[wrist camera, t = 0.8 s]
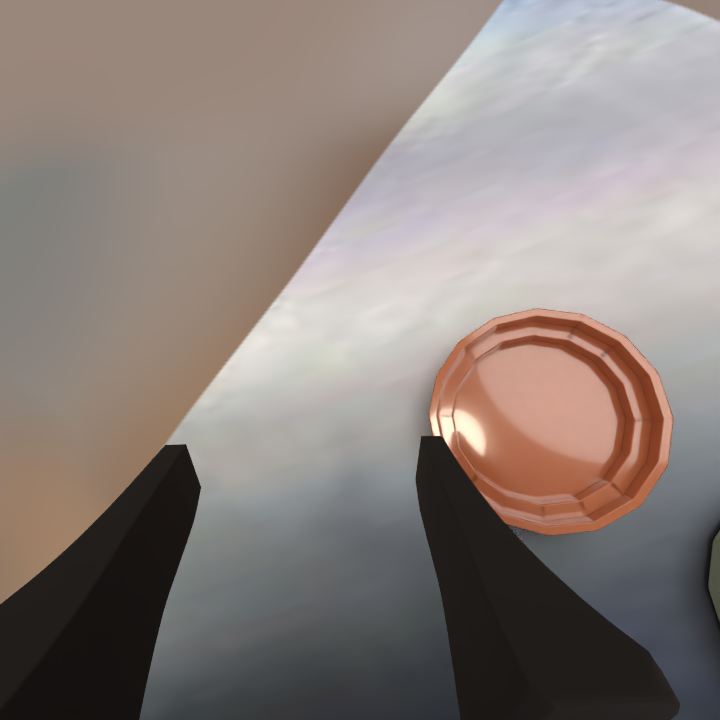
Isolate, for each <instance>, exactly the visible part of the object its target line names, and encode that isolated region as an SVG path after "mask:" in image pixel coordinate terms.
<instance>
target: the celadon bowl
mask: <svg viewBox="0 0 720 720" xmlns="http://www.w3.org/2000/svg"><path fill="white" fill-rule="evenodd" d="M708 587H709V591H710V594H711V597H712V600H713V603H714V606H715V610H716V613H717V616H718V619H719V622H720V531H719V532H718V534H717V535H716V537H715V538H714V540H713V546H712V555H711V564H710V573H709V582H708Z"/></svg>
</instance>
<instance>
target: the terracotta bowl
mask: <svg viewBox="0 0 720 720" xmlns="http://www.w3.org/2000/svg"><path fill="white" fill-rule="evenodd" d="M429 419H430V423H431V428H432V433H433V436H441V437H443V438H444V440H445V442H446V443H447V445H448V446H449V448H450V450H451V451H452V453H453V454H454V456H455V457H456V459H457V461H458V462H459V463H460V465H461V466H462V468H463V469H464V471H465V472H466V474H467V475H468V476H469V478H470V479H471V481H472V482H473V483H474V485H475V486H476V487H477V489H478V490H479V491H480V493H481V494H482V495H483V497H484V498H485V499H486V500H487V502H488V503H489V504H490V506H491V507H492V508H493V509H494V510H495V512H496V513H497V514H498V515H499V516H500V518H501V519H502V520H503V521H504V522H505V523H506V524H508V525H512V526H515V527H519V528H523V529H526V530H530V531H533V532H537V533H541V534H544V535H559V534H568V533H577V532H587V531H596V530H600V529H601V528H603V527H605V526H606V525H608V524H610V523H612V522H613V521H615V520H617V519H619V518H620V517H622V516H624V515H626V514H627V513H629V512H631V511H633V510H634V509H636V508H638V507H639V506H640V505H642V503H643V502H644V500H645V499H646V497H647V496H648V494H649V493H650V491H651V490H652V488H653V487H654V486H655V484H656V483H657V481H658V480H659V478H660V477H661V475H662V474H663V472H664V471H665V469H666V468H667V465H668V460H669V452H670V444H671V436H672V428H673V415H672V412H671V409H670V406H669V403H668V400H667V397H666V394H665V391H664V388H663V385H662V382H661V379H660V376H659V374H658V372H657V371H656V370H655V369H654V367H653V366H652V365H651V364H650V363H649V362H648V361H647V360H646V358H645V357H644V356H643V355H642V354H641V353H640V352H639V351H638V349H637V348H636V347H635V346H634V345H633V344H632V343H631V342H630V340H629V339H628V338H627V337H625V336H624V335H622V334H620V333H618V332H616V331H615V330H613V329H611V328H609V327H607V326H605V325H603V324H601V323H599V322H597V321H595V320H593V319H591V318H589V317H587V316H585V315H583V314H578V313H570V312H562V311H554V310H546V309H532V310H527V311H523V312H519V313H514V314H510V315H505V316H501V317H497V318H494V319H492V320H490V321H489V322H487V323H486V324H484V325H483V326H481V327H480V328H478V329H477V330H475V331H474V332H472V333H471V334H470V335H468V336H467V337H465V338H464V339H462V340H461V341H460V342H458V344H457V345H456V347H455V348H454V350H453V351H452V353H451V354H450V356H449V357H448V359H447V360H446V362H445V363H444V365H443V366H442V368H441V369H440V371H439V372H438V374H437V376H436V380H435V386H434V391H433V396H432V401H431V406H430V411H429Z"/></svg>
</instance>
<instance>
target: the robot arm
mask: <svg viewBox="0 0 720 720" xmlns="http://www.w3.org/2000/svg"><path fill="white" fill-rule="evenodd" d="M416 486H417V493H418V500H419V507H420V512H421V516H422V520H423V524H424V528H425V532H426V536H427V540H428V544H429V547H430V551H431V555H432V559H433V563H434V567H435V571H436V574H437V578H438V582H439V587H440V591H441V596H442V601H443V607H444V613H445V619H446V625H447V631H448V637H449V644H450V650H451V657H452V663H453V670H454V677H455V684H456V691H457V698H458V705H459V712H460V719H461V720H670V719H672V718H673V717H674V716H675V715H677V714H678V711H679V707H680V703H679V701H678V699H677V697H676V696H675V694H674V692H673V690H672V688H671V686H670V685H669V683H668V681H667V679H666V678H665V676H664V674H663V673H662V671H661V669H660V668H659V667H658V665H657V664H656V662H655V661H654V659H653V658H652V656H651V654H650V653H649V651H647V650H646V649H645V648H643V647H642V646H641V645H639V644H638V643H637V642H635V641H634V640H633V639H632V638H630V637H629V636H628V635H626V634H625V633H624V632H622V631H621V630H620V629H618V628H617V627H616V626H615V625H613V624H612V623H611V622H609V621H608V620H607V619H606V618H604V617H603V616H602V615H601V614H600V613H598V612H597V611H596V610H595V609H594V608H592V607H591V606H590V605H589V604H588V603H586V602H585V601H584V600H583V599H582V598H581V597H579V596H578V595H577V594H576V593H575V592H574V591H573V590H572V589H571V588H569V587H568V586H567V585H566V584H565V583H564V582H563V581H562V580H561V579H560V578H558V577H557V576H556V575H555V574H554V573H553V572H552V571H551V570H550V569H549V568H548V567H546V566H545V565H544V564H543V563H542V562H541V561H540V560H539V559H538V558H537V557H536V556H535V555H534V554H533V553H532V552H531V551H530V550H529V549H528V548H527V546H526V545H525V544H524V543H523V542H522V541H521V540H520V539H519V538H518V537H517V536H516V535H515V534H514V533H513V531H512V530H511V529H510V528H509V527H508V526H507V525H506V523H505V522H504V521H503V520H502V519H501V518H500V516H499V515H498V514H497V513H496V512H495V510H494V509H493V508H492V507H491V506H490V504H489V503H488V502H487V500H486V499H485V498H484V497H483V495H482V494H481V493H480V491H479V490H478V489H477V487H476V486H475V485H474V483H473V482H472V481H471V479H470V478H469V476H468V475H467V474H466V472H465V471H464V469H463V468H462V466H461V465H460V463H459V462H458V461H457V459H456V457H455V456H454V454H453V453H452V451H451V450H450V448H449V446H448V445H447V443H446V442H445V440H444V438H443V437H441V436H421V443H420V450H419V457H418V465H417V472H416ZM200 490H201V486H200V483H199V480H198V477H197V475H196V472H195V469H194V466H193V463H192V460H191V457H190V455H189V452H188V449H187V446H186V444H184V445H165V446H164V447H163V448H162V449H161V450H160V452H159V453H158V454H157V455H156V456H155V457H154V458H153V459H152V460H151V462H150V463H149V464H148V465H147V466H146V467H145V468H144V470H143V471H142V472H141V473H140V474H139V475H138V476H137V477H136V478H135V480H134V481H133V482H132V483H131V484H130V485H129V486H128V487H127V488H126V490H125V491H124V492H123V493H122V494H121V495H120V496H119V497H118V498H117V499H116V500H115V502H114V503H112V505H111V506H110V507H109V508H108V509H107V510H106V511H105V512H104V513H103V514H102V515H101V516H100V517H99V518H98V519H97V520H96V521H95V522H94V523H93V524H92V525H91V526H90V527H89V528H88V529H87V530H86V531H85V532H84V533H83V534H82V535H81V536H80V537H79V538H78V539H77V540H76V541H75V542H74V543H73V544H71V545H70V546H69V547H68V548H67V549H66V550H65V551H64V552H63V553H62V554H61V555H59V556H58V557H57V558H56V559H55V560H54V561H53V562H52V563H50V564H49V565H48V566H47V567H46V568H45V569H44V570H42V571H41V572H40V573H39V574H38V575H36V577H34V578H33V579H32V580H30V581H29V582H28V583H27V584H26V585H24V586H23V587H22V588H20V589H19V590H18V591H17V592H16V593H14V594H13V595H12V596H10V597H9V598H8V599H7V600H5V601H4V602H3V603H2V604H0V720H139V717H140V712H141V707H142V703H143V698H144V693H145V688H146V683H147V679H148V674H149V670H150V665H151V661H152V656H153V652H154V648H155V644H156V639H157V635H158V631H159V627H160V623H161V619H162V615H163V611H164V608H165V605H166V601H167V598H168V595H169V592H170V589H171V586H172V583H173V581H174V578H175V575H176V572H177V569H178V566H179V563H180V560H181V557H182V555H183V552H184V549H185V546H186V543H187V540H188V537H189V534H190V531H191V528H192V525H193V522H194V518H195V514H196V510H197V505H198V500H199V495H200Z"/></svg>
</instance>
